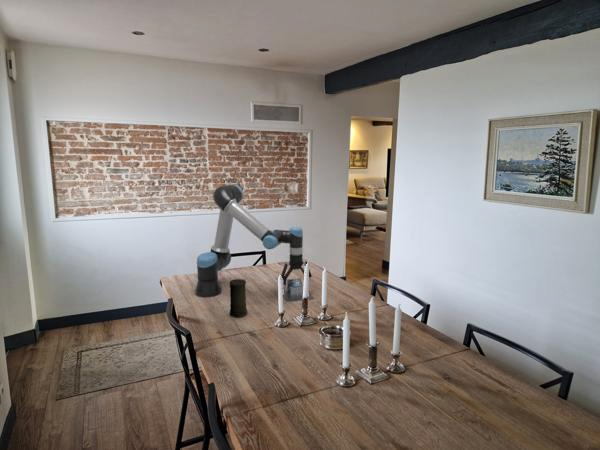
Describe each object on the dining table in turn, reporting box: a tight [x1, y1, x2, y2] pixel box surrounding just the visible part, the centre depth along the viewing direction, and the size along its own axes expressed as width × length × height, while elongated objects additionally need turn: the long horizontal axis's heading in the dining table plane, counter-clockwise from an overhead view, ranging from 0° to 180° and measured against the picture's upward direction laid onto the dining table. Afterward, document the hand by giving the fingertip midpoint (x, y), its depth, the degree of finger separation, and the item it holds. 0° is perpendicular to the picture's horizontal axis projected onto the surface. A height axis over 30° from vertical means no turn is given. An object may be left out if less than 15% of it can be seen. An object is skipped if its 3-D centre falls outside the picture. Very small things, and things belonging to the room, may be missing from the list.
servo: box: [291, 278, 301, 287], centre depth 233 cm, size 9×4×9 cm, turn 17°
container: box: [229, 278, 248, 319], centre depth 203 cm, size 9×9×18 cm
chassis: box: [283, 277, 315, 303], centre depth 233 cm, size 20×16×8 cm
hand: (296, 289), depth 233 cm, fingers open, 11 cm apart
